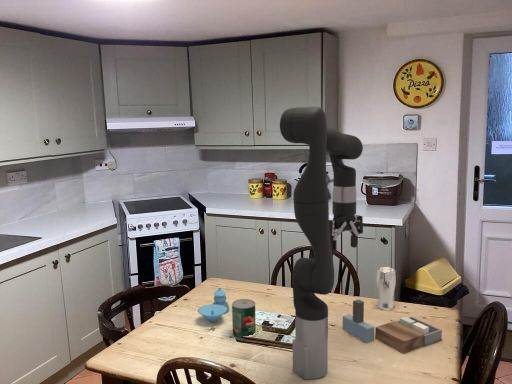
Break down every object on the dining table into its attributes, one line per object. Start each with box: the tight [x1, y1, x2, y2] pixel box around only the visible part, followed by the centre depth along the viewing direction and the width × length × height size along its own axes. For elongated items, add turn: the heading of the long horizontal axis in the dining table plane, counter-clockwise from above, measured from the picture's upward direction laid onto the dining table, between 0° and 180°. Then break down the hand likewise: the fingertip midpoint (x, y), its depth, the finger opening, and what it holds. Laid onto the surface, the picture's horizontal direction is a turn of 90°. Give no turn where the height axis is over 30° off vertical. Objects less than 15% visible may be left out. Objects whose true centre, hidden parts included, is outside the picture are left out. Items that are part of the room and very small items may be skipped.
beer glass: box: [376, 266, 397, 311], centre depth 180 cm, size 7×7×15 cm
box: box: [395, 316, 443, 347], centre depth 157 cm, size 8×13×4 cm, turn 30°
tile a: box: [412, 322, 429, 335], centre depth 153 cm, size 4×4×2 cm
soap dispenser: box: [197, 287, 230, 324], centre depth 174 cm, size 18×10×9 cm, turn 167°
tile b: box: [399, 316, 416, 329], centre depth 158 cm, size 4×4×2 cm
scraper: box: [342, 299, 375, 344], centre depth 157 cm, size 3×12×12 cm, turn 30°
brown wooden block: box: [374, 320, 424, 354], centre depth 152 cm, size 9×12×4 cm
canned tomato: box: [231, 298, 257, 340], centre depth 159 cm, size 8×8×11 cm
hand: (343, 248), depth 153 cm, fingers open, 8 cm apart
